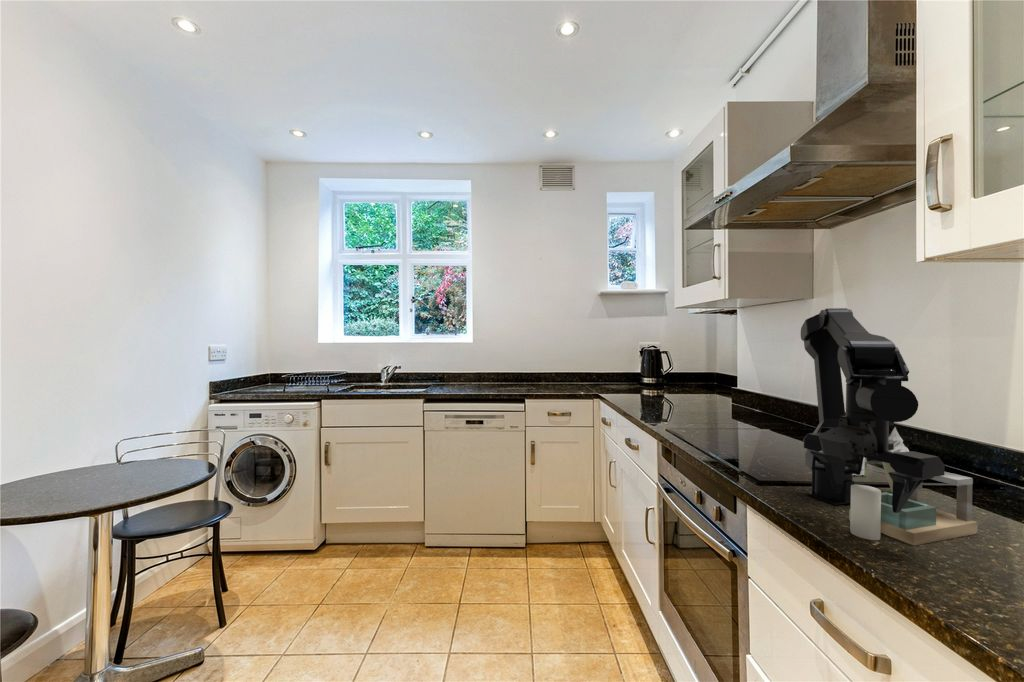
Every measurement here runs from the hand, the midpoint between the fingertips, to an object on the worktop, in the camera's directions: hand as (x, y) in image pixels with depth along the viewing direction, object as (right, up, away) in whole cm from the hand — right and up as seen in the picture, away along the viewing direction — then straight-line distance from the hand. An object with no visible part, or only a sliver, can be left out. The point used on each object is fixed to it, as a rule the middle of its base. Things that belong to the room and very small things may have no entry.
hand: (865, 501), depth 73 cm
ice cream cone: (+23, -6, +19) cm, 30 cm away
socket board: (+11, -6, +3) cm, 13 cm away
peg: (0, -6, 0) cm, 6 cm away
